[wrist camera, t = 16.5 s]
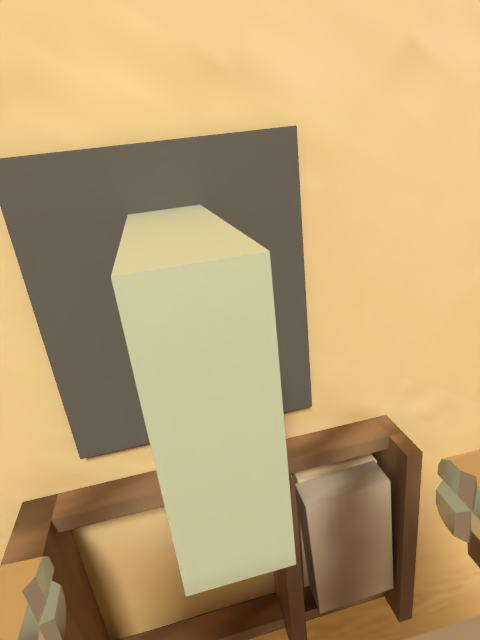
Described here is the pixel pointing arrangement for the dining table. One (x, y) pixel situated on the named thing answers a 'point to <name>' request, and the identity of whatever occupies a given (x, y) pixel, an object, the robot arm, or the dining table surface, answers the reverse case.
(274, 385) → the beige rectangular block
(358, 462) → the block
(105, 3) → the dining table surface
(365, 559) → the upper offcut
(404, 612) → the frame
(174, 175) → the rubber mat
